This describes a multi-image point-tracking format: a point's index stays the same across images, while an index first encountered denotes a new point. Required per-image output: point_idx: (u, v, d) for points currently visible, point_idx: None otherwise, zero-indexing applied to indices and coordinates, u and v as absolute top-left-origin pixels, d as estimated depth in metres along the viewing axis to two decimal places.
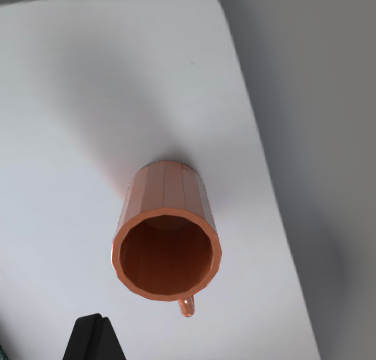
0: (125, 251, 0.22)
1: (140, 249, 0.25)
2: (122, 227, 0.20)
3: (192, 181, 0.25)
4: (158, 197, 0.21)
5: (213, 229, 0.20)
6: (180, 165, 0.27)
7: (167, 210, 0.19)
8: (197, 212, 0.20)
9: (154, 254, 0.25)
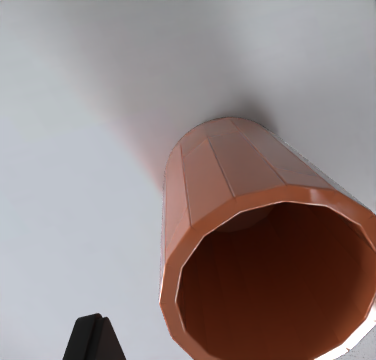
0: None
1: (196, 268, 0.14)
2: (189, 231, 0.09)
3: (289, 146, 0.14)
4: (258, 166, 0.10)
5: None
6: (256, 123, 0.16)
7: (294, 192, 0.08)
8: (351, 197, 0.09)
9: (218, 275, 0.14)
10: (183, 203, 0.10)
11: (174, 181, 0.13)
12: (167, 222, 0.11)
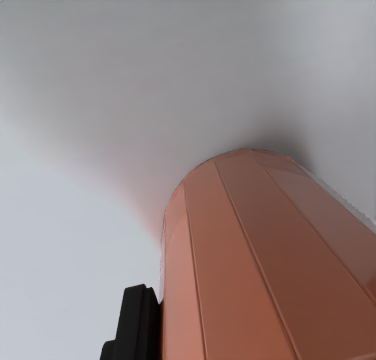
0: None
1: None
2: None
3: (343, 199, 0.10)
4: (329, 274, 0.05)
5: None
6: (289, 159, 0.12)
7: None
8: None
9: None
10: (194, 329, 0.06)
11: (177, 257, 0.09)
12: (166, 350, 0.06)
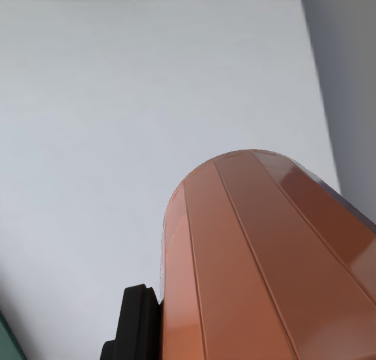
0: None
1: None
2: None
3: (343, 200, 0.10)
4: (328, 274, 0.05)
5: None
6: (289, 160, 0.12)
7: None
8: None
9: None
10: (194, 329, 0.06)
11: (177, 257, 0.09)
12: (166, 350, 0.06)
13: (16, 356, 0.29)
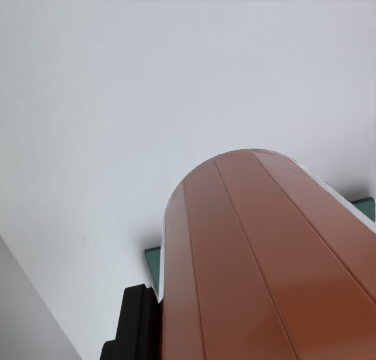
0: None
1: None
2: None
3: (343, 199, 0.10)
4: (329, 274, 0.05)
5: None
6: (289, 159, 0.12)
7: None
8: None
9: None
10: (193, 328, 0.06)
11: (176, 257, 0.09)
12: (166, 349, 0.06)
13: None
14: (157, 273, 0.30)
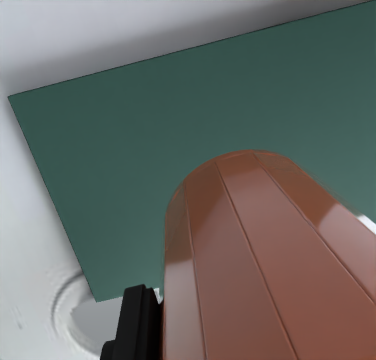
0: None
1: None
2: None
3: (344, 200, 0.10)
4: (330, 275, 0.05)
5: None
6: (289, 160, 0.12)
7: None
8: None
9: None
10: (194, 330, 0.06)
11: (177, 258, 0.09)
12: (166, 351, 0.06)
13: (347, 14, 0.17)
14: (35, 137, 0.19)
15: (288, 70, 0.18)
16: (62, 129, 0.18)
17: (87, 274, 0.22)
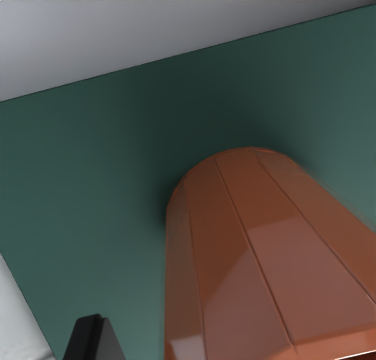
0: None
1: None
2: None
3: (337, 194, 0.10)
4: (319, 260, 0.06)
5: None
6: (286, 157, 0.12)
7: None
8: None
9: None
10: (193, 312, 0.06)
11: (177, 249, 0.09)
12: (167, 333, 0.07)
13: None
14: None
15: (350, 81, 0.12)
16: (16, 167, 0.13)
17: (60, 357, 0.16)
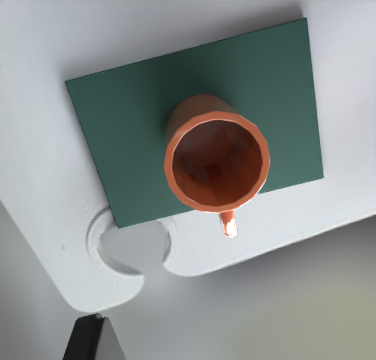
0: (173, 166, 0.23)
1: (183, 173, 0.26)
2: (176, 132, 0.20)
3: (233, 107, 0.25)
4: (208, 108, 0.21)
5: None
6: (218, 97, 0.27)
7: (220, 114, 0.20)
8: (247, 119, 0.21)
9: (195, 180, 0.26)
10: (174, 127, 0.22)
11: (171, 124, 0.25)
12: (167, 138, 0.22)
13: (283, 28, 0.27)
14: (81, 108, 0.28)
15: (247, 64, 0.28)
16: (99, 103, 0.28)
17: (112, 207, 0.32)
